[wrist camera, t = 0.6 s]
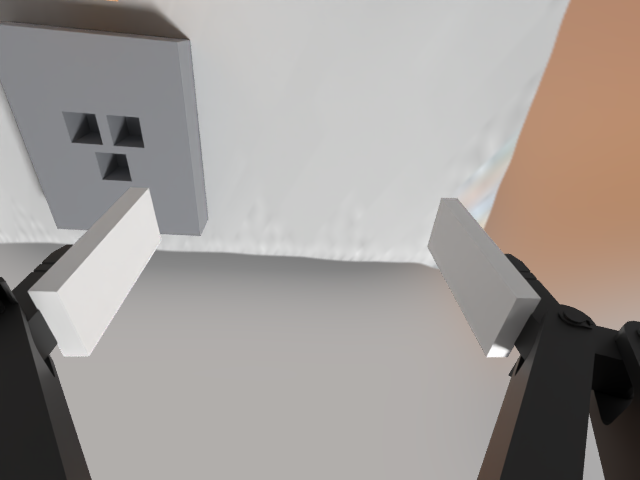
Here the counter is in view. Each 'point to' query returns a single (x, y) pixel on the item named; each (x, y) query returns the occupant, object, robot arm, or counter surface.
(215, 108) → the counter surface
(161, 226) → the socket
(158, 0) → the counter surface
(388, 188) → the counter surface
